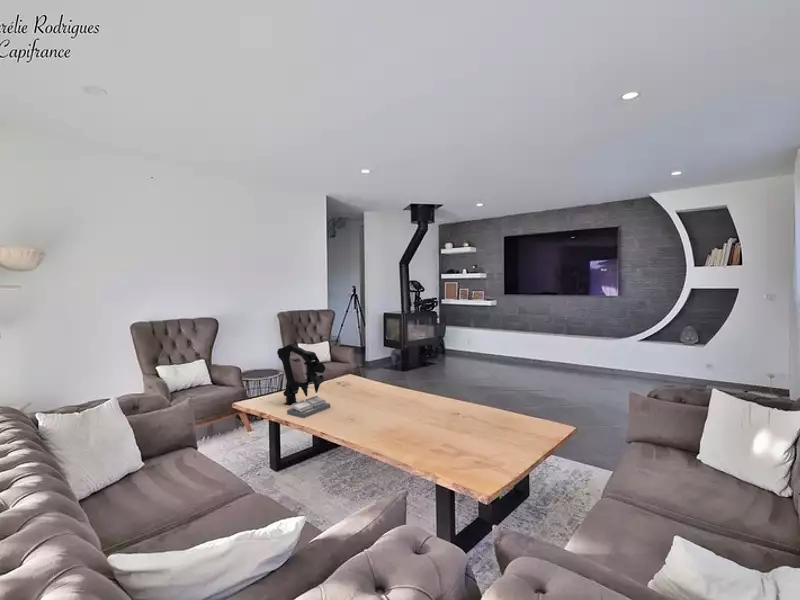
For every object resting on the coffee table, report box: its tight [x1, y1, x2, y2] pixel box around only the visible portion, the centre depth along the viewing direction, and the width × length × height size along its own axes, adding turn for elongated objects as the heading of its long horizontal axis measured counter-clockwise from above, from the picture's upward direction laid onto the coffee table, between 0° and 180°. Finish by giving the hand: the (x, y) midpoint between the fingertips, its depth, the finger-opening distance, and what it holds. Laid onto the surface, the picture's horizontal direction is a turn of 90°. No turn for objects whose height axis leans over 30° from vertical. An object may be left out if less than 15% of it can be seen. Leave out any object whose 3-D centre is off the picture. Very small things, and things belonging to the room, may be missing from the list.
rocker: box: [304, 395, 327, 407], centre depth 269 cm, size 9×10×2 cm
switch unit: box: [286, 402, 331, 419], centre depth 264 cm, size 15×24×4 cm, turn 148°
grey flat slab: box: [290, 399, 313, 412], centre depth 259 cm, size 9×10×2 cm
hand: (311, 394), depth 270 cm, fingers open, 9 cm apart
